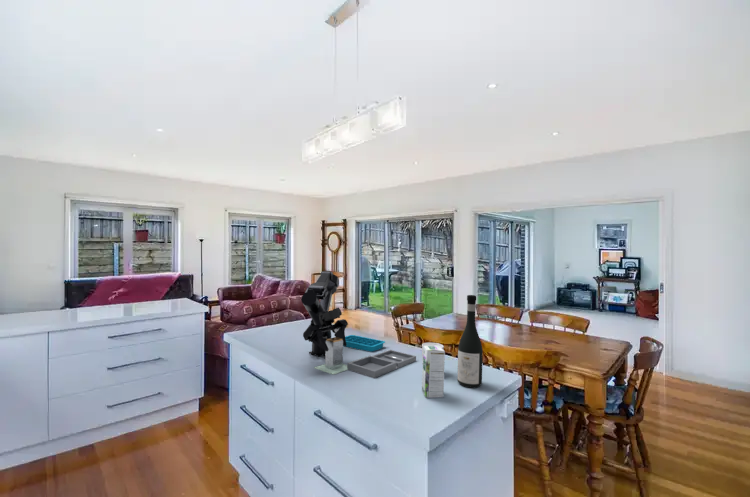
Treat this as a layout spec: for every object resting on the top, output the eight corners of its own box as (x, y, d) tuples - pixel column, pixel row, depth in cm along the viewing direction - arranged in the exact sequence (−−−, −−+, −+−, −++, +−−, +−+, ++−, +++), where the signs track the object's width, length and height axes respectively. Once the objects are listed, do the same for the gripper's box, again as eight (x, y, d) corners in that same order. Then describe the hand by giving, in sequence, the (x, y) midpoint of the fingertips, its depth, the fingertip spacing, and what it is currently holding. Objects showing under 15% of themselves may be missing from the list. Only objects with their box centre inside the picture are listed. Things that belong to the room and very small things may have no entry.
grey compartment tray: (347, 369, 129) (347, 362, 129) (390, 354, 150) (390, 348, 150) (374, 378, 121) (374, 371, 121) (416, 361, 141) (416, 354, 141)
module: (325, 367, 129) (325, 339, 129) (334, 364, 133) (335, 336, 133) (332, 370, 127) (333, 341, 127) (342, 366, 131) (343, 338, 131)
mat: (314, 368, 129) (314, 367, 129) (334, 362, 137) (334, 361, 137) (333, 375, 123) (333, 373, 123) (352, 368, 131) (352, 367, 131)
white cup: (444, 370, 131) (445, 344, 131) (441, 377, 123) (442, 349, 124) (423, 367, 133) (424, 341, 134) (419, 374, 126) (420, 346, 126)
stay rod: (383, 357, 143) (383, 354, 143) (385, 356, 144) (385, 354, 144) (403, 362, 137) (403, 359, 137) (404, 361, 138) (404, 359, 138)
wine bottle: (477, 390, 113) (480, 297, 113) (454, 385, 117) (456, 295, 117) (484, 383, 119) (486, 295, 120) (461, 378, 124) (463, 293, 124)
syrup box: (421, 390, 112) (422, 345, 112) (439, 390, 112) (440, 345, 112) (425, 398, 106) (426, 350, 106) (444, 397, 106) (445, 350, 106)
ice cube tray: (372, 353, 151) (372, 347, 151) (336, 345, 162) (336, 339, 162) (386, 348, 160) (386, 341, 160) (351, 340, 172) (351, 334, 172)
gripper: (309, 303, 125) (329, 340, 118) (345, 298, 140) (365, 331, 133) (294, 322, 130) (313, 358, 123) (331, 315, 145) (349, 347, 138)
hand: (336, 348), depth 129 cm, fingers open, 9 cm apart
